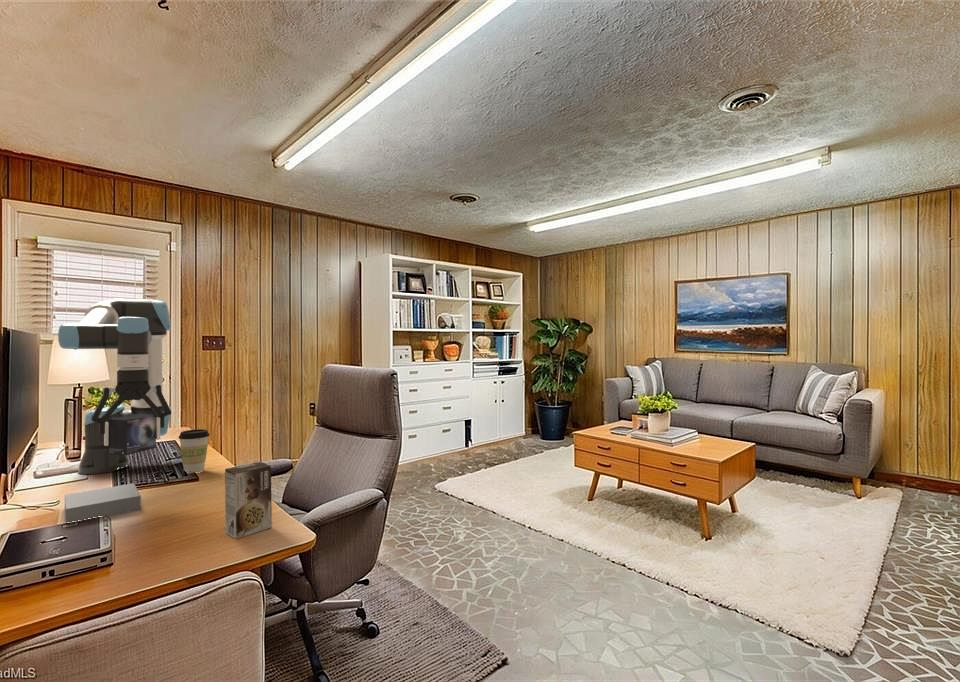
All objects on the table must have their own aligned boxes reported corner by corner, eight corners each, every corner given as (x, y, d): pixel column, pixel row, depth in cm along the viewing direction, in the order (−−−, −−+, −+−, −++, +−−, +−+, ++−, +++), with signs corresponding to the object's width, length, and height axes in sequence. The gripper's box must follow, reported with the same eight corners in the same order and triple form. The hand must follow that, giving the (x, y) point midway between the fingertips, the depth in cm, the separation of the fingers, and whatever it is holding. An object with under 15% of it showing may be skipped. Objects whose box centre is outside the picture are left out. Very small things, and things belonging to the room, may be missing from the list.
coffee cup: (184, 477, 165) (184, 434, 166) (173, 472, 171) (173, 431, 172) (214, 471, 173) (214, 430, 173) (202, 467, 179) (202, 428, 179)
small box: (125, 456, 133) (125, 419, 133) (106, 455, 134) (106, 418, 134) (157, 447, 143) (157, 413, 143) (139, 447, 144) (139, 413, 144)
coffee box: (260, 522, 124) (260, 461, 124) (272, 528, 119) (272, 464, 120) (224, 532, 116) (224, 468, 117) (235, 539, 112) (235, 472, 112)
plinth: (64, 508, 134) (64, 494, 134) (133, 496, 145) (133, 483, 145) (65, 524, 122) (66, 509, 122) (140, 509, 133) (140, 495, 133)
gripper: (80, 371, 128) (80, 450, 128) (182, 367, 144) (182, 438, 144) (79, 370, 133) (78, 446, 133) (177, 367, 150) (177, 434, 150)
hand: (132, 442), depth 139 cm, fingers closed on small box, 12 cm apart
